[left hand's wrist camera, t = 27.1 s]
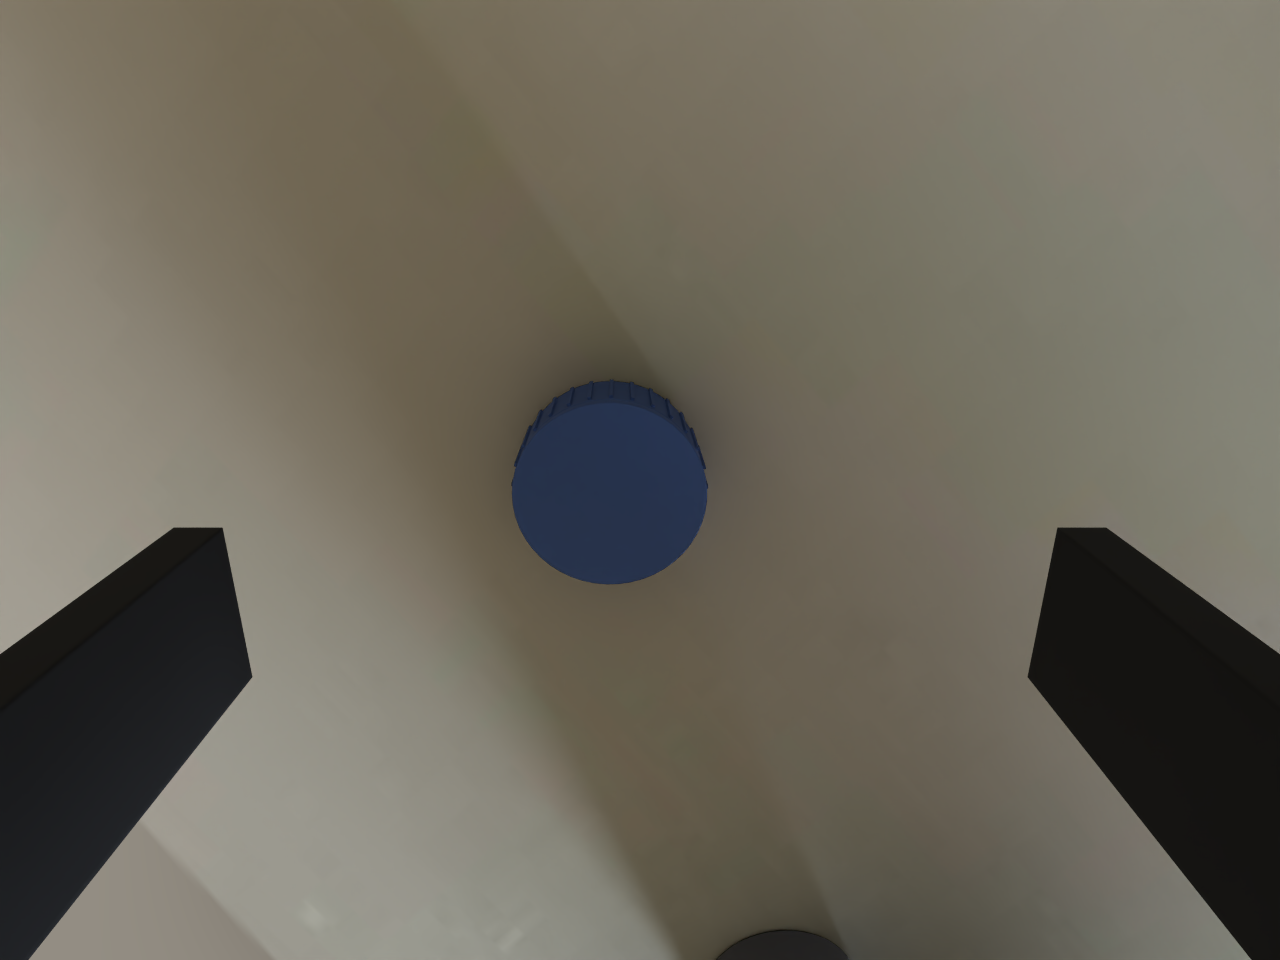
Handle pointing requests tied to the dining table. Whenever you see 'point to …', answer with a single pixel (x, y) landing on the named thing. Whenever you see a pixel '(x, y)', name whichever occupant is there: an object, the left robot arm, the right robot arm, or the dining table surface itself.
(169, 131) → the dining table surface
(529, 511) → the cap
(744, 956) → the bottle
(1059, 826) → the dining table surface
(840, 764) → the dining table surface
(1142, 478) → the dining table surface
